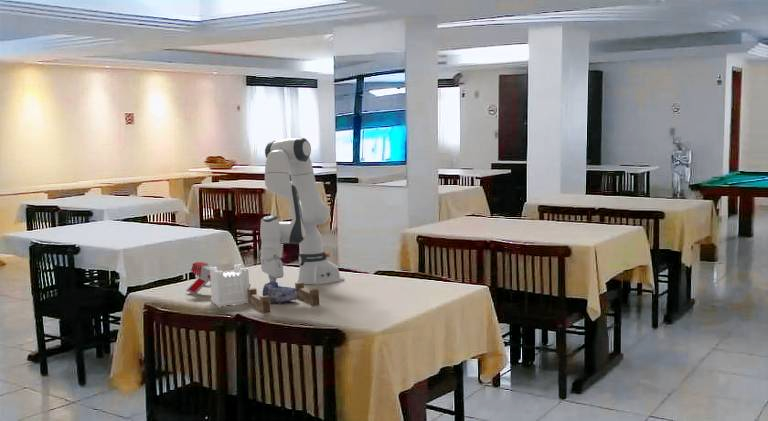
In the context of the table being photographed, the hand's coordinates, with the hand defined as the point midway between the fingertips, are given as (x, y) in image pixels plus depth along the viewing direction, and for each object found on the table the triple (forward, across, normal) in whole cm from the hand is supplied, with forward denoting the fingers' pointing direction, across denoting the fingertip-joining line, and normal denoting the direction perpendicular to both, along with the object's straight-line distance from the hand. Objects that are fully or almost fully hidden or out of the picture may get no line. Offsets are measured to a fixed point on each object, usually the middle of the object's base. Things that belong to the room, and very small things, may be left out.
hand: (273, 285), depth 340 cm
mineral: (+7, -7, -1) cm, 10 cm away
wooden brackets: (+6, -12, 0) cm, 14 cm away
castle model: (+7, +6, +17) cm, 20 cm away
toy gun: (+7, +25, +18) cm, 32 cm away
